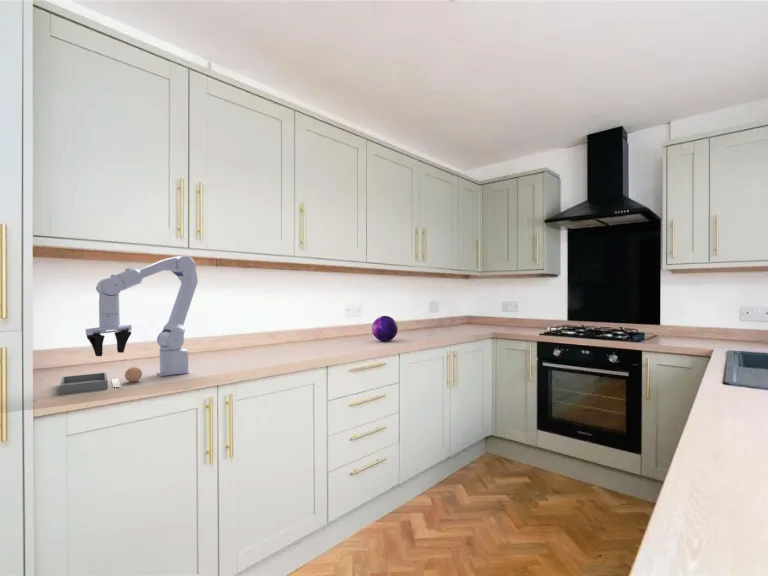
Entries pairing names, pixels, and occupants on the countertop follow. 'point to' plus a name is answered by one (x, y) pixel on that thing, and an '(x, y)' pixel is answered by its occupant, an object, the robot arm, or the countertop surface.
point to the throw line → (115, 383)
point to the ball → (133, 374)
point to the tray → (83, 383)
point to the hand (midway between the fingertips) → (110, 354)
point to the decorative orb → (384, 328)
